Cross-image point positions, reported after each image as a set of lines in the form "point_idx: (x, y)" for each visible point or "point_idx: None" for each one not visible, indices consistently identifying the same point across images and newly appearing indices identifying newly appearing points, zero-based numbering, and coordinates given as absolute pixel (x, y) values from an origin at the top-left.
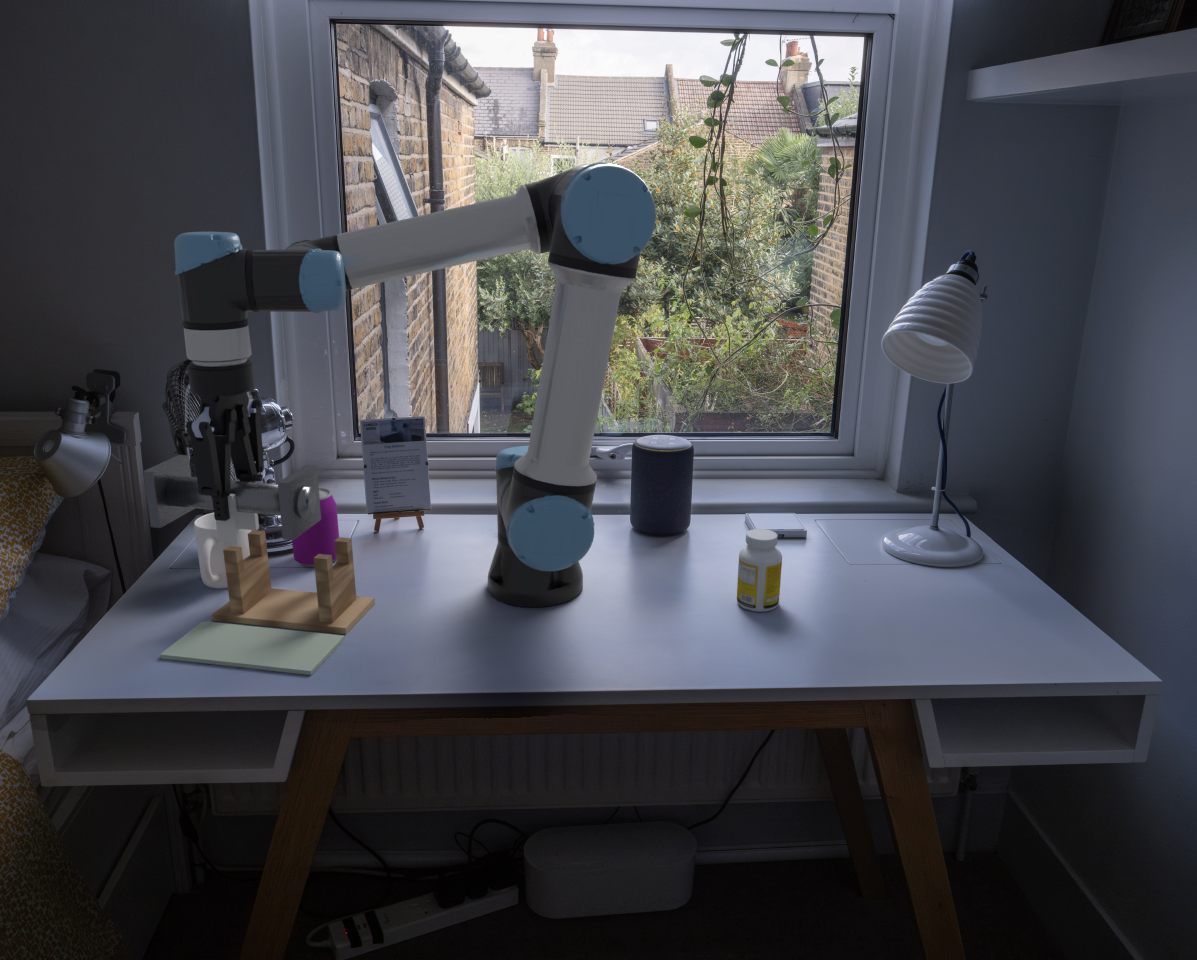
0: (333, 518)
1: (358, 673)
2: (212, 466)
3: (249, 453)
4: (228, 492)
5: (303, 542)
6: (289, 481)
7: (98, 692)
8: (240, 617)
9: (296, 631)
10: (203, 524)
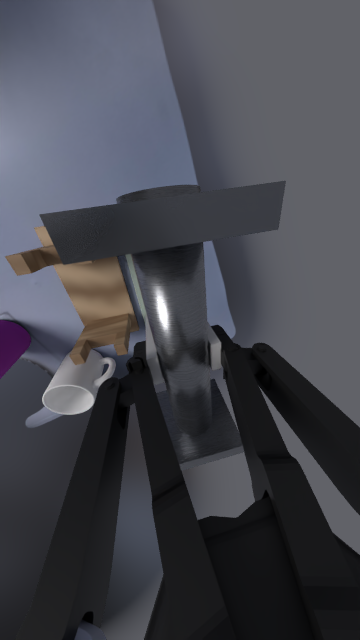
0: None
1: (159, 156)
2: (318, 390)
3: (152, 419)
4: (233, 346)
5: (15, 346)
6: (266, 189)
7: (227, 319)
8: (133, 311)
9: (128, 261)
10: (78, 406)
